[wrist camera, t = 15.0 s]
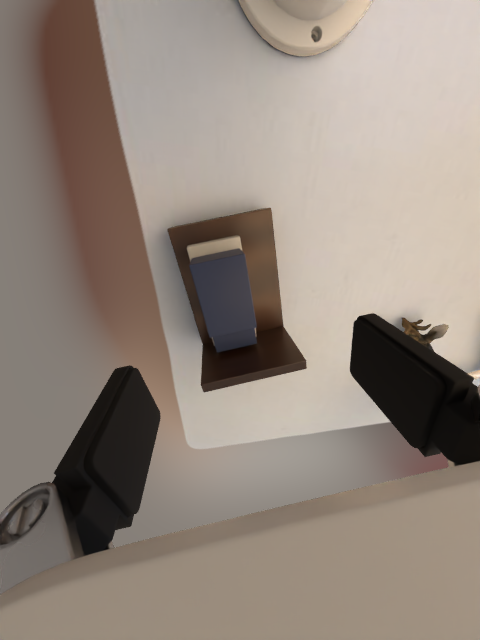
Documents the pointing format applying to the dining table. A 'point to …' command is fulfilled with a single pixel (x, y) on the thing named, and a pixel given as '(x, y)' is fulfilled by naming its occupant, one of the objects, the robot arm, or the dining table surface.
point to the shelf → (272, 339)
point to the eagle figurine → (427, 338)
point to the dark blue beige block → (224, 292)
